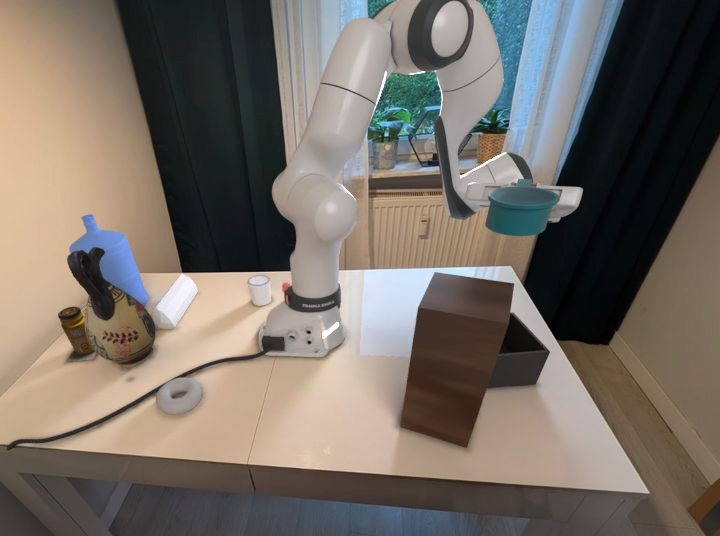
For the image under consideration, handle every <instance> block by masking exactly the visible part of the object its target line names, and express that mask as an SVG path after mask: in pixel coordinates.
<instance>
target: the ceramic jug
mask: <svg viewBox="0 0 720 536" xmlns="http://www.w3.org/2000/svg"><path fill="white" fill-rule="evenodd" d="M104 254H105V251H104V249H102V248H98V247H93V248H92V249H91V250H90V251H89V253H86V252H85V251H83V250H80V251H74V252H72V253H70V254H68V255H67V258H66V261H67V265H68V269H69V270H70V272H71V275H72V276H73V278H74V279H75V281H76V282H78V284H79V286H81V288H82V289H83V290H84V291H85V292H86V293H87V295H88V297H87V300H86V306H85V312H84V316H85V319H84V324H85V331H86V335H87V338H88V341H89V343H90V345H91V346H92V348H93V350H94V351H95V352H96V353H97V354H96V355H98V356H100V357H101V358H103V359H105V360H106V361H111V362H113V363H116V364H118V365H119V366H121V367H123V368H125V369H126V368H127V369H128V368H132V367H135V366H138V365H140V364H142V363H144V362H146V361H147V360H148V359H150V358H151V356H152V355H153V352H154V348H153V346H154V344H155V340H156V336H157V332H156V331H157V329H156V328H155V324H154V321H153V319H152V317H151V313H150V312H149V311H148V309H146V307H145V305H144V306H143V305H142V304H141V303H140V302H139V301H138V300H136V299H135V298H134V297H132V296H131V295H129V294H128V293H126V292H125V291H123V290H122V289H120V288H118V287H116V286H114V285H112V284H111V283H110V282H108V281H107V280H105V279H104V278H103V276H102V273H101V270H100V265H99V264H100V260H101V258H102V257H103V255H104ZM81 264H82V265H81ZM82 267H83V268H82Z"/></svg>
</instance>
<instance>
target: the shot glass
mask: <svg viewBox="0 0 720 536" xmlns="http://www.w3.org/2000/svg"><path fill="white" fill-rule="evenodd" d="M246 282H247V283H246V284H247V287H248V291H249V294H250V297H251V301H252V304H253V305H255V306H258V307H259V306H260V307H261V306H265V305H268V304H270V303H271V301H272V289H271V288H272V286H271V285H272V284H271V277H270V276H268V275H266V274H257V275H253V276H251V277H249V278H248V279H247V281H246Z"/></svg>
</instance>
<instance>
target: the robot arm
mask: <svg viewBox="0 0 720 536" xmlns="http://www.w3.org/2000/svg"><path fill="white" fill-rule="evenodd" d="M392 73H395V74H401V75H405V76H406V75H407V76H408V75H416V74H422V73H435V75H436V81H437V83H438V86H439V90H440V93H441V105H440V106H441V107H440V111H439V114H438V115H437V117H436V119H435V120H434V124H433V133H434V142H435V143H434V144H435V150H436V157H437V163H438V169H439V175H440V182H441V183H440V184H441V192H442V195H441V197H442V204H443V208H444V211H445V212H446V213H447V215H448V216H449V218H452V219H455V220H460V221H465V220H468V219H469V218H471V217H473V216H474V215H476V214H477V213H478V212H481V211H482V210H484V209H488V210H489V206H490V201H489V199H488V196H489V193H490V192H491V191H493V190H495V189H499V188H503V187H513V186H516V184H517V179H532V181H531V187H536V188H542V189H546V190H550V191H552V192H555V193H556V194H558V196H559V201H558V203H557V204H556V205H554V206H553V207H552V210H551V213H550V216H549V219H548V222H547V224H551V223H559V222H560V220H561V218H564V217H566V216H569V215H570V214H572V213H573V212H575V211H576V210H577V209H578V207H579V205H580V202H581V200H582V196H583V192H584V189H583V187H580V186H564V185H561V186H560V185H542V184H541V183H540V182H539V183H538V182H534V177H533V173H532V171H531V169H530V167H529V165H528V163H527V161H526V160H525V158H524V157H523V156H521V155H519V154H517V153H514V152H510V151H504V152H503V153H500V154H499V155H497V156H495V157H493V158H492V159H489V160H488V161H486V162H484V163H483V164H480V165H479V166H477V167H476V168H473V169H472V170H470V171H468V172H466V173H464V174H462V175H461V172H460V163H459V154H458V153H459V148H460V146H461V144H462V142H463V140H464V139H465V138H466V137H467V135H468V134H469V133H470V132H471V131H472V129H474V127H475V126H476V125H477V124H478V123H480V121H481V120H482V119H483V118H485V117H486V115H487V114H488V113H489V112H490V111H491V110H492V108H493V107H494V105H495V104H496V102H497V100H498V98H499V97H500V94H501V92H502V91H503V87H504V83H505V82H504V81H505V76H504V73H505V72H504V65H503V60H502V55H501V51H500V46H499V43H498V39H497V36H496V33H495V29H494V27H493V25H492V23H491V19H490V18H489V16H488V14H487V12H486V10H485V7H484V6H483V4H482V3H481V2H480V1H478V0H394V1H393V0H392V1H389V2H387V3H385V4H384V5H382V6H381V7H379V9H377V11H376V12H374V13H373V15H372V16H371V17H357V18H354V19H351V20H350V21H348V22H347V23H346V24H345V25H344V27H343V28H342V30H341V31H340V33H339V35H338V37H337V39H336V42H335V43H334V46H333V47H332V50H331V52H330V54H329V58H328V60H327V62H326V65H325V68H324V70H323V72H322V76H321V79H320V82H319V86H318V89H317V91H316V95H315V98H314V101H313V104H312V108H311V111H310V114H309V117H308V121H307V124H306V127H305V129H304V131H303V135H302V136H301V139H300V141H299V143H298V145H297V147H296V148H295V151H294V152H293V154H292V156H291V158H290V160H289V162H288V164H287V165H286V167H285V168H284V170H282V171H281V172H280V173H279V174H278V175H277V177H276V178H275V179H274V181H273V183H272V187H271V197H272V201H273V203H274V205H275V207H276V209H277V211H278V212H279V214H280V215H281V216H282V217H283V218H285V219H286V220H288V221H289V222H290V223H291V224H293V227H294V229H295V232H296V239H295V240H296V241H295V247H294V250H293V251H292V252H291V254H290V256H289V267H290V268H289V269H290V277H291V278H290V279H291V284H290V283H289V282H283V283H282V284H281V289H282V292H283V297H284V300H283V301H281V302H280V303H279V304H277V305H275V306H274V307H273V308H272V309H270V311H269V312H268V314H267V317H266V321H265V322H264V323H263V324H262V326H261V327H260V329H259V331H258V337H257V338H258V340H257V341H258V347H259V350H260V352H258V353H254V354H250V355H243V356H232V357H225V358H220V359H216V360H212V361H209V362H207V363H204V364H201V365H199V366H196V367H194V368H192V369H189V370H187V371H185V372H182V373H180V374H178V375H177V376H174V377H173V378H172V379H169V380H168V381H166V382H164V383H162V384H160V385H159V386H157V387H155V388H153V389H151V390H150V391H148V392H146V393H145V394H143V395H142V396H140V397H138V398H136V399H135V400H133V401H131V402H129V403H128V404H126V405H124V406H122V407H119V409H117V410H115V411H113V412H111V413H109V414H107V415H106V416H104V417H101V418H99V419H97V420H95V421H93V422H90V423H87V424H85V425H83V426H80V427H77V428H75V429H73V430H70V431H67V432H63V433H61V434H57V435H53V436H50V437H49V436H48V437H45V438H20V439H16V440H14V441H11V442H10V443H9V444H8V446H7V447H6V451H11V450H13V448H14V447H16V446H17V445H21V444H47V443H51V442H55V441H59V440H62V439H64V438H65V439H66V438H68V437H71V436H75V435H77V434H79V433H83V432H84V431H87V430H89V429H92V428H94V427H96V426H99V425H101V424H103V423H105V422H107V421H109V420H111V419H113V418H114V417H116V416H119V415H120V414H122V413H124V412H126V411H127V410H129V409H131V408H133V407H135V406H136V405H138V404H139V403H141V402H143V401H144V400H146V399H148V398H149V397H151V396H152V395H154V394H157V393H158V391H159V389H160V388H161V387H162V386H163V385H164V384H166V383H167V382H169V381H171V380H173V379H176V378H186V377H187V376H190V375H192V374H193V373H196V372H199V371H201V370H204V369H207V368H209V367H211V366H215V365H219V364H222V363H227V362H238V361H247V360H253V359H256V358H259V357H262V356H270V357H271V356H272V357H294V358H295V357H297V358H298V357H299V358H324V357H326V356H327V355H328V354H329V353H330V351H331V350H333V349H335V348H336V347H338V346H340V344H342V343H343V342H344V341H345V338H346V330H345V328H344V325H343V321H342V316H341V305H342V289H341V284H340V281H339V280H340V255H341V251H342V247H343V244H344V240H345V239H347V238H348V237H349V236H350V235H351V234H352V233H353V231H354V230H355V228H356V226H357V224H358V221H359V216H360V208H359V204H358V201H357V200H356V198H355V197H354V196H353V194H352V193H351V192H350V191H349V190H348V189H347V188H346V186H344V185H343V184H342V183H339V182H337V181H336V179H337V177H338V175H339V174H340V172H341V170H342V169H343V168H344V166H345V165H346V164H347V163H348V162H349V161H350V160H351V159H353V158H354V157H355V156H356V155H357V154H358V153H359V152H360V151H361V149H362V146H363V143H364V140H365V138H366V135H367V132H368V129H369V126H370V124H371V122H372V120H373V119H372V118H373V116H374V115H375V114H374V113H375V111H376V109H377V105H378V104H379V103H378V102H379V100H380V97H381V94H382V91H383V89H384V85H385V84H386V81H387V80H388V78H389V77H390V76H391V74H392Z"/></svg>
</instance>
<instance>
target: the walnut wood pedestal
mask: <svg viewBox="0 0 720 536" xmlns="http://www.w3.org/2000/svg"><path fill="white" fill-rule="evenodd" d="M514 289H515V283H514V282H507V281H500V280H494V279H487V278H480V277H473V276H465V275H458V274H451V273H445V272H444V273H443V272H437V271H434V273H433V275H432V277H431V279H430V281H429V283H428V285H427V287H426V290H425V292H424V294H423V296H422V297H421V301H420V302H419V304H418V306H417V311H416V318H415V324H414V332H413V337H412V343H411V350H410V359H409V365H408V371H407V377H406V378H407V379H406V384H405V390H404V398H403V404H402V410H401V417H400V423H399V428H402V429H405V430H409V431H412V432H414V433H418V434H421V435H425V436H427V437H431V438H433V439H436V440H441V441H443V442H445V443H449V444H453V445H455V446H459V447H463V448H465V449H467V448H468V447H469V443H470V440H471V437H472V434H473V431H474V429H475V425H476V423H477V419H478V416H479V414H480V410H481V408H482V405H483V402H484V399H485V397H486V396H485V395H486V393H487V390H488V389H487V387H488V384H489V381H490V378H491V375H492V372H493V369H494V366H495V363H496V360H497V357H498V354H499V351H500V348H501V345H502V342H503V339H504V336H505V333H506V330H507V327H508V324H509V318H510V313H511V311H512V304H513V296H514Z"/></svg>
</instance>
